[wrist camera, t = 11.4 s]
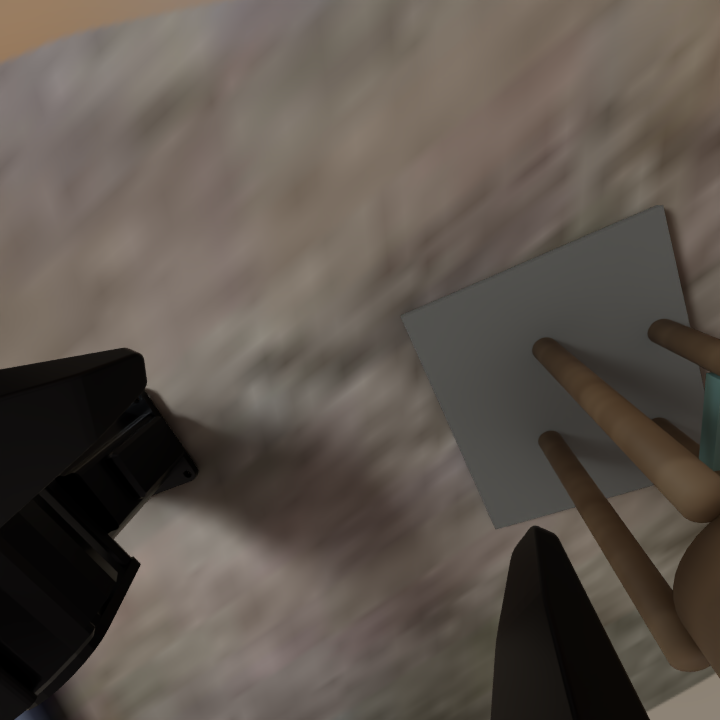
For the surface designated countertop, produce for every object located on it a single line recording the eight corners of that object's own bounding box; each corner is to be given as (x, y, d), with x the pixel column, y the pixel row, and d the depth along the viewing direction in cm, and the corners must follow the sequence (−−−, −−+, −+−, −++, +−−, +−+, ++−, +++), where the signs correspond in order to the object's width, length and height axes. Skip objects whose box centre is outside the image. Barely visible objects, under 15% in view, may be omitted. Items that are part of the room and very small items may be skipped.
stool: (538, 451, 21) (705, 738, 10) (531, 339, 19) (731, 532, 8) (669, 436, 20) (1031, 736, 9) (676, 316, 18) (1162, 498, 7)
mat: (493, 523, 24) (495, 529, 23) (400, 315, 20) (401, 317, 20) (714, 460, 21) (721, 466, 21) (655, 205, 17) (663, 205, 17)
